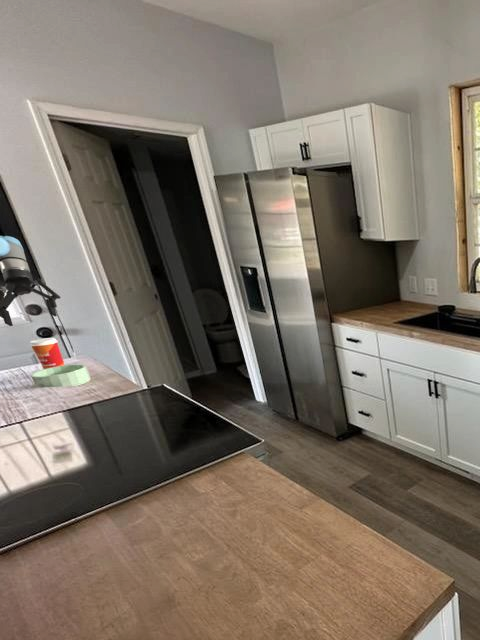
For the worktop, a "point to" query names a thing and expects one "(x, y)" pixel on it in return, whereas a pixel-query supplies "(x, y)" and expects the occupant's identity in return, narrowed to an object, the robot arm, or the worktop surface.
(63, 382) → the bowl
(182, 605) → the worktop surface
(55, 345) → the paper cup
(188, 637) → the worktop surface
